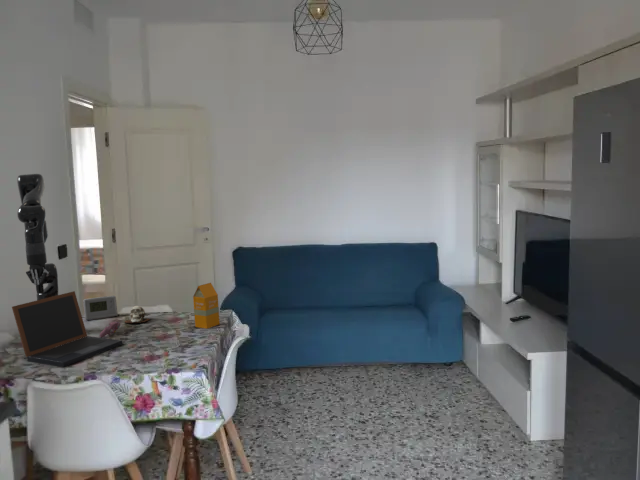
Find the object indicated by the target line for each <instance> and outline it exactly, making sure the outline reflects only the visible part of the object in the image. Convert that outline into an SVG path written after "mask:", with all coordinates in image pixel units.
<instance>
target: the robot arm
mask: <svg viewBox="0 0 640 480" xmlns="http://www.w3.org/2000/svg"><path fill="white" fill-rule="evenodd" d="M16 181H17V188H18V193H19V198H20V203H21V205H20V206H19V207H18V209H17V213H16V214H17V219H18V221H19V222H21V223H23V225H24V242H25V257H26V264H27V265H28V266H29V268H28V271H25V274H26V276H27V278H28V279H29V281H30V282H31V283H32V284H33V285H34V286H35V290H36V291H35V292H36V301H37V300H41V299H45V298H49V297H53V296H57V295H59V275H58V268H57V266H56V264H55V263H52V262H49V263H47V262H48V260H47V250H46V241H47V240H48V237H49V232H48V225H47V220H46V217H47V211H46V209H45V207H44V206H43V205H42V198H43V196H44V194H45V192H46V191H45V190H46V184H45V183H46V182H45V179H44V176H43V175H42V174H40V173H27V174H19V175H18V176H17V178H16ZM46 284H47V285H46ZM44 285H46V287H44Z"/></svg>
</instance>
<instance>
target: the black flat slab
mask: <svg viewBox="0 0 640 480" xmlns="http://www.w3.org/2000/svg"><path fill="white" fill-rule="evenodd" d="M119 346H123V340H121V339H112V338H105V337H97V336H89V335H87V336H86V337H83V338H80V339H78V340H75V341H72V342H69V343H66V344H63V345H60V346H57V347H54V348H51V349H48V350H45V351H42V352H40V353H37V354H34V355H31V356H28V357H26V358H27V362H31V363H38V364H44V365H50V366H56V367H61V368H62V367H63V368H65V367H67V366H71V365H73V364H76V363H78V362H81V361H83V360H86V359H88V358H91V357H93V356H97V355H99V354H102V353H104V352H107V351H109V350H112V349H114V348H118V347H119Z"/></svg>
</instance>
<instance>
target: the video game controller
mask: <svg viewBox="0 0 640 480" xmlns="http://www.w3.org/2000/svg"><path fill="white" fill-rule="evenodd" d="M120 326H121V323H120V321H119V322H118V321H116V320H115V321H111V322H109V323H108V324H107V325H106V326H105V327H104V329H102V331H100V332H99V338H105V337H106V336H112V334H115V333H116V332H117V331H118V329H120Z"/></svg>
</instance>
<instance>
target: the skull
mask: <svg viewBox="0 0 640 480" xmlns="http://www.w3.org/2000/svg"><path fill="white" fill-rule="evenodd" d="M129 316H130V318H131V319H127V320H125V321H124V323H126V324H139V323H146V322H147V323H148V322H149V321H151V318H148V317H145V316H146V311H145V309H144V308H143V307H142V306H140V305H134V306H133V307H132V308H131V310H130V314H129Z"/></svg>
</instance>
